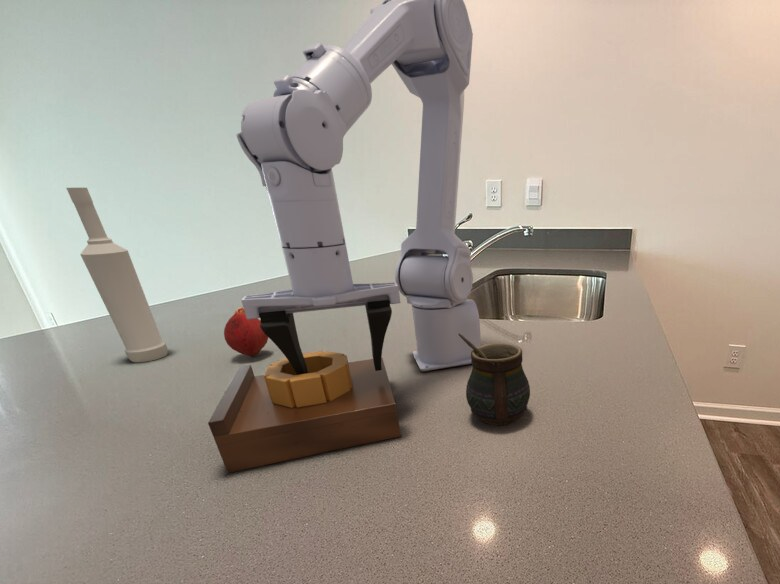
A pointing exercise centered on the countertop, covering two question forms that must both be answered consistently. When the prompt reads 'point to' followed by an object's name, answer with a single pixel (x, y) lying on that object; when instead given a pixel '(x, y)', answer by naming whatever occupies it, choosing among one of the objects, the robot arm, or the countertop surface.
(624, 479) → the countertop surface
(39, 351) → the countertop surface
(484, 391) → the mate gourd
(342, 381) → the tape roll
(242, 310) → the red pomegranate
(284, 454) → the shelf
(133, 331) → the bottle
